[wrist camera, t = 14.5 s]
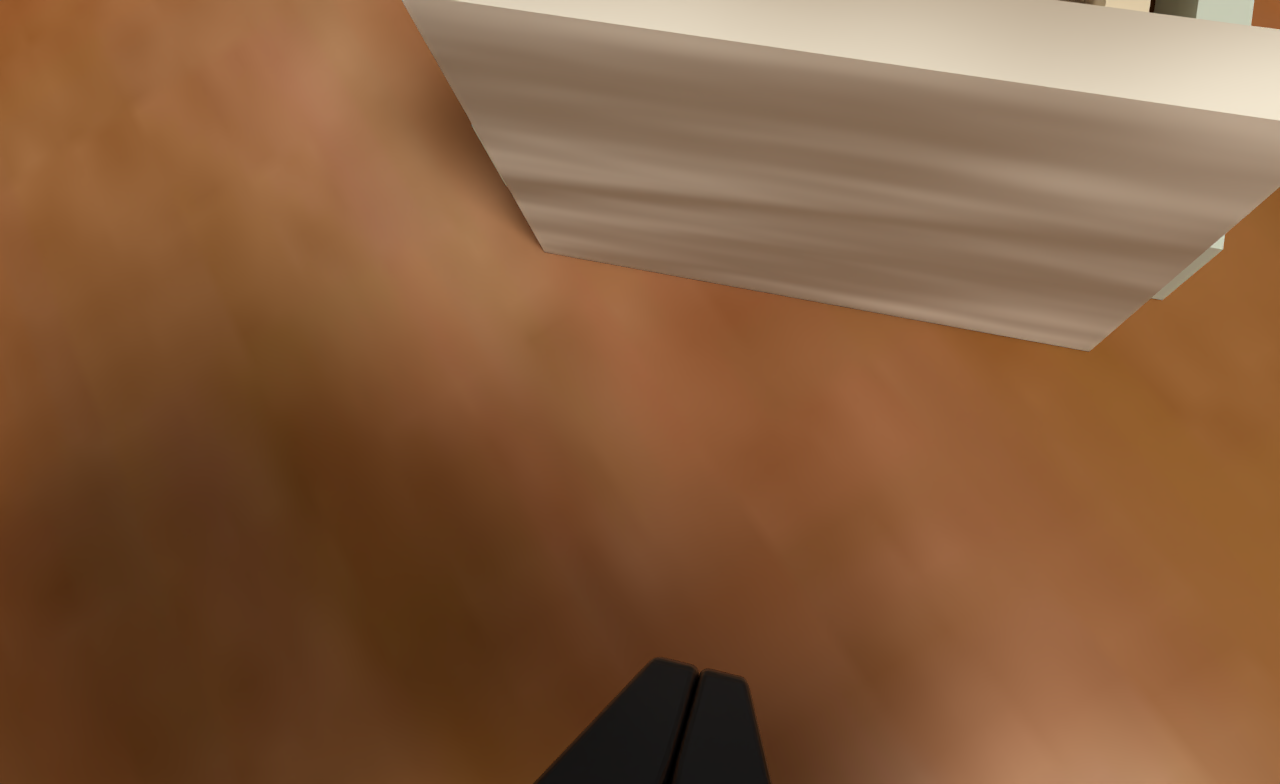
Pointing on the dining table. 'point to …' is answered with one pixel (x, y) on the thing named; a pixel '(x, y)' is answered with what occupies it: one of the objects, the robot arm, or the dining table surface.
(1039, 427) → the dining table surface
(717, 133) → the drawer
